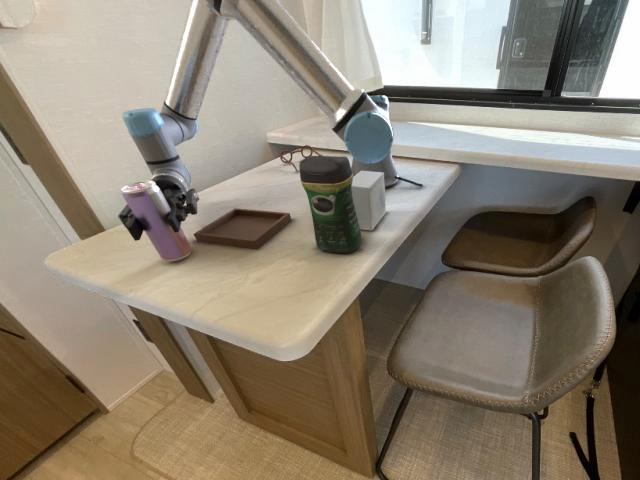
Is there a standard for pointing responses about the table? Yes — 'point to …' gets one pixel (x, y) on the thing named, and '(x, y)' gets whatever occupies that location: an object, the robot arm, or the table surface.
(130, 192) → the beverage can
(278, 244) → the table surface
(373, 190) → the cosmetics box
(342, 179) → the coffee jar
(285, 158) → the glasses
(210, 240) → the tray
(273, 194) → the table surface
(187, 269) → the table surface
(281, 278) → the table surface
